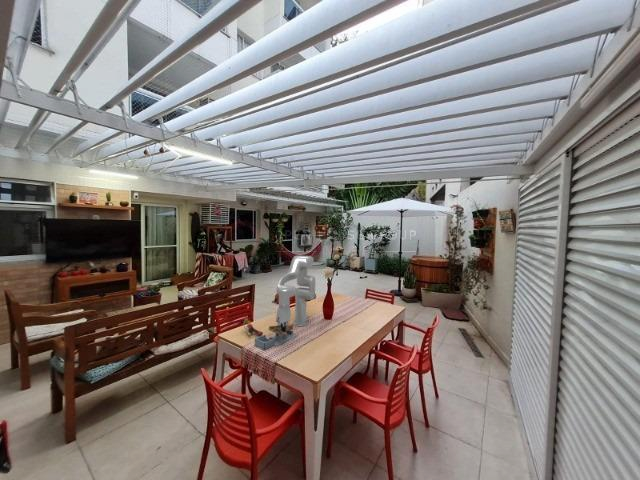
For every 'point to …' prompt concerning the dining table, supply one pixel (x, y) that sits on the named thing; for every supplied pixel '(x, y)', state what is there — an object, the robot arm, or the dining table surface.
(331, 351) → the dining table surface
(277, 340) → the fulcrum
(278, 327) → the seesaw
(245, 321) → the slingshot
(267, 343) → the tray
